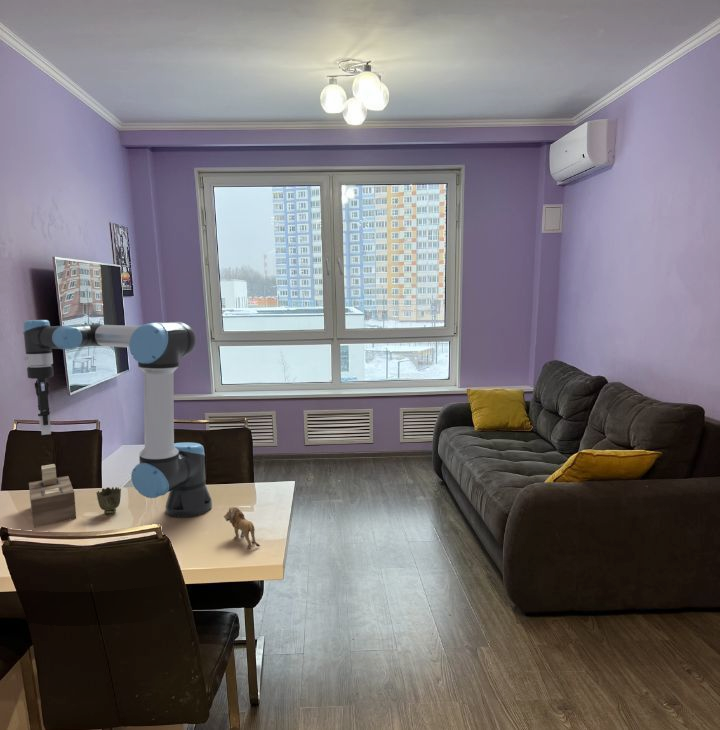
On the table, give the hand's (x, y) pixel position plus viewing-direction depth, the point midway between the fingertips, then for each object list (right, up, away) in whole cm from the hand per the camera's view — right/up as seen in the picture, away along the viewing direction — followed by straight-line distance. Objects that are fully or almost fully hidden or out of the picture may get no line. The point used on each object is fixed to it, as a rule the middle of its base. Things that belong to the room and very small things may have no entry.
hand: (45, 431), depth 177 cm
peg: (0, -20, +2) cm, 20 cm away
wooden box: (+3, -28, -1) cm, 28 cm away
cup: (+23, -28, -2) cm, 36 cm away
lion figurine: (+73, -30, -23) cm, 82 cm away
